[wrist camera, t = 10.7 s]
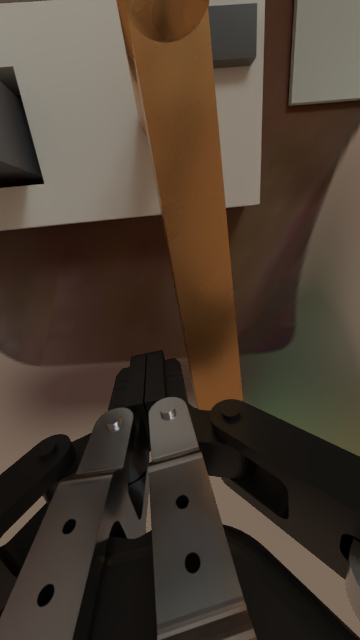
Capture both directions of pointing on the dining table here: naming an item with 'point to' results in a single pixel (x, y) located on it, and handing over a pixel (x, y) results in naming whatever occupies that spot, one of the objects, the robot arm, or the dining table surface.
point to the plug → (16, 141)
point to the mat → (325, 52)
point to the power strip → (116, 110)
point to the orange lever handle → (187, 179)
